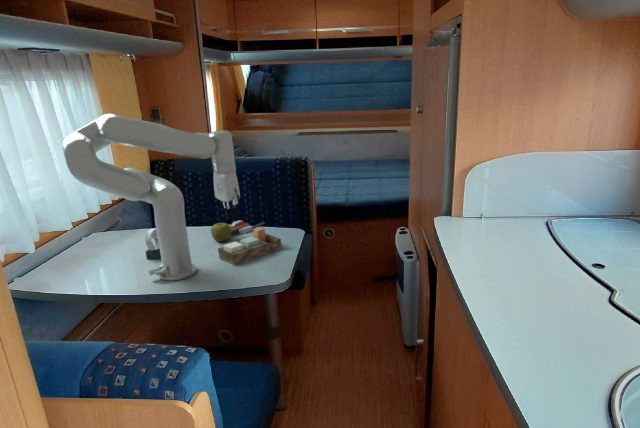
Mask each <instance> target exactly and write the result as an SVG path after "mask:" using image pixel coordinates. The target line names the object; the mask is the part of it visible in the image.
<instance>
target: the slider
mask: <svg viewBox="0 0 640 428" xmlns="http://www.w3.org/2000/svg"><path fill="white" fill-rule="evenodd" d="M252 232H253V237H254V238H257V239H259V240H262V241H264V242H265V241H266V238H265V233H266V229H265V228H264V227H261V226H259V227H256V228H254V229H253V231H252Z"/></svg>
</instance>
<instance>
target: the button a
mask: <svg viewBox="0 0 640 428" xmlns="http://www.w3.org/2000/svg"><path fill="white" fill-rule="evenodd" d="M238 242H239V241H238ZM238 242H237V241H232V242H230V243H226V244H223V247H224V250H226V251H228V252H230V253H232V252H235V251H239V250H242V249H243V245H242V244H240V243H238Z"/></svg>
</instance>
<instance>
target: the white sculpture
mask: <svg viewBox="0 0 640 428" xmlns="http://www.w3.org/2000/svg"><path fill="white" fill-rule="evenodd" d="M152 239H153V241H154V244H153V242H152ZM145 245H146V247H147V248H148V249H147V250H146V251H145V255H146V260H161V254H160V248H159V242H158V236H157V231H156V228H151V229H147V232H146V234H145Z"/></svg>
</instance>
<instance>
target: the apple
mask: <svg viewBox="0 0 640 428" xmlns="http://www.w3.org/2000/svg"><path fill="white" fill-rule="evenodd" d="M229 225H230V224H228V223H225V222H217V223H214V224H213V225H212V226H211V228H210V232H211V233H210V234H211V236H212V238H213V239H214V241H216V242H227V241H228V240H230V239H231V237H232V236H231V228H230V226H229ZM230 236H231V237H230Z"/></svg>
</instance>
